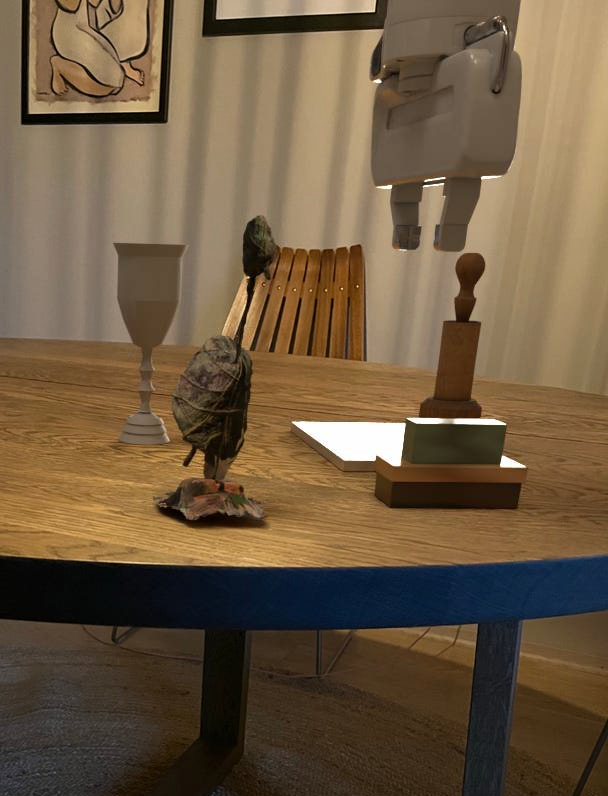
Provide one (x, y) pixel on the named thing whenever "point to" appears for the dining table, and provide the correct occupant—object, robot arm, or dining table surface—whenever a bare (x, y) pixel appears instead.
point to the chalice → (148, 320)
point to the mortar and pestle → (458, 351)
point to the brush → (450, 466)
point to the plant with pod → (220, 403)
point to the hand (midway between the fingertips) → (425, 250)
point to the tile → (351, 442)
